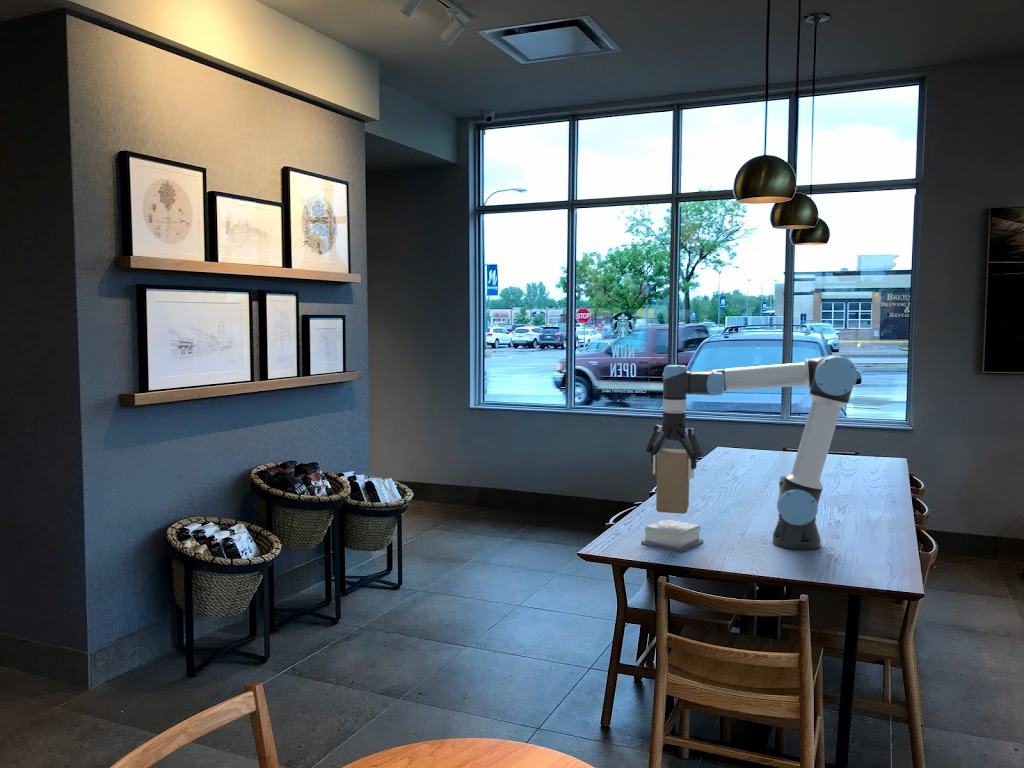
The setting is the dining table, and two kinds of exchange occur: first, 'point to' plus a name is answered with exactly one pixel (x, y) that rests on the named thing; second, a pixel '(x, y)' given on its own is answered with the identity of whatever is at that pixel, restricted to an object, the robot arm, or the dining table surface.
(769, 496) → the dining table surface
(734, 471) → the dining table surface
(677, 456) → the wooden block
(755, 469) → the dining table surface
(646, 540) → the stand
